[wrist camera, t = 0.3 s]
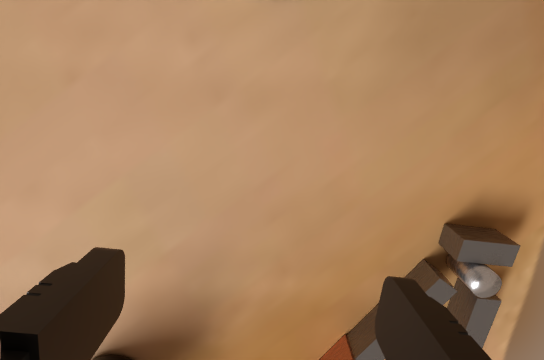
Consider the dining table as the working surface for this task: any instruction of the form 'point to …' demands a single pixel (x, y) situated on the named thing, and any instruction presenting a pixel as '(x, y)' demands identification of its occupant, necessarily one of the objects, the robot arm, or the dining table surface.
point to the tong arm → (361, 339)
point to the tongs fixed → (476, 274)
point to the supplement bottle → (112, 357)
